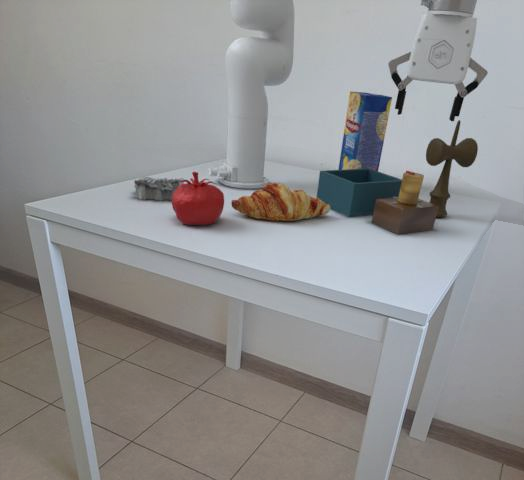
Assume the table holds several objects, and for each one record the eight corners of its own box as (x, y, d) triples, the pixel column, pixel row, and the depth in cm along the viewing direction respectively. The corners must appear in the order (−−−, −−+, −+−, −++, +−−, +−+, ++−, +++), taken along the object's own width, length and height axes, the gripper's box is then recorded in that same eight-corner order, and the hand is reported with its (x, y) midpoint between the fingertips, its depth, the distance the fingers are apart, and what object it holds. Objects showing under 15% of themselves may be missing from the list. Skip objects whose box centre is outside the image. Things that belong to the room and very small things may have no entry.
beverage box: (359, 180, 137) (374, 93, 126) (374, 190, 128) (392, 97, 117) (336, 179, 136) (350, 91, 124) (350, 189, 127) (365, 95, 115)
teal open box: (349, 217, 105) (354, 183, 101) (315, 201, 114) (319, 170, 110) (398, 211, 112) (405, 180, 108) (363, 197, 121) (369, 168, 117)
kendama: (460, 218, 110) (488, 123, 100) (424, 219, 107) (449, 121, 97) (443, 211, 115) (468, 118, 105) (409, 212, 112) (431, 117, 102)
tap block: (397, 234, 97) (403, 208, 94) (371, 222, 103) (375, 197, 100) (433, 230, 101) (439, 205, 99) (405, 218, 107) (411, 194, 104)
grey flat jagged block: (133, 200, 104) (131, 180, 102) (138, 191, 111) (137, 172, 108) (183, 202, 105) (182, 183, 103) (185, 193, 112) (185, 175, 109)
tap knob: (421, 204, 99) (428, 174, 96) (407, 205, 97) (414, 175, 94) (407, 198, 102) (413, 170, 99) (393, 200, 100) (399, 171, 97)
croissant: (321, 227, 108) (320, 191, 107) (339, 219, 98) (339, 179, 98) (228, 226, 103) (226, 187, 102) (237, 216, 93) (236, 174, 92)
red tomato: (223, 230, 91) (225, 179, 86) (170, 228, 90) (168, 176, 85) (223, 215, 99) (224, 167, 94) (174, 212, 98) (172, 164, 93)
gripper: (399, 0, 81) (377, 113, 90) (508, 9, 77) (474, 125, 87) (401, 4, 87) (380, 109, 96) (502, 12, 84) (470, 121, 93)
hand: (425, 117), depth 91 cm, fingers open, 9 cm apart
